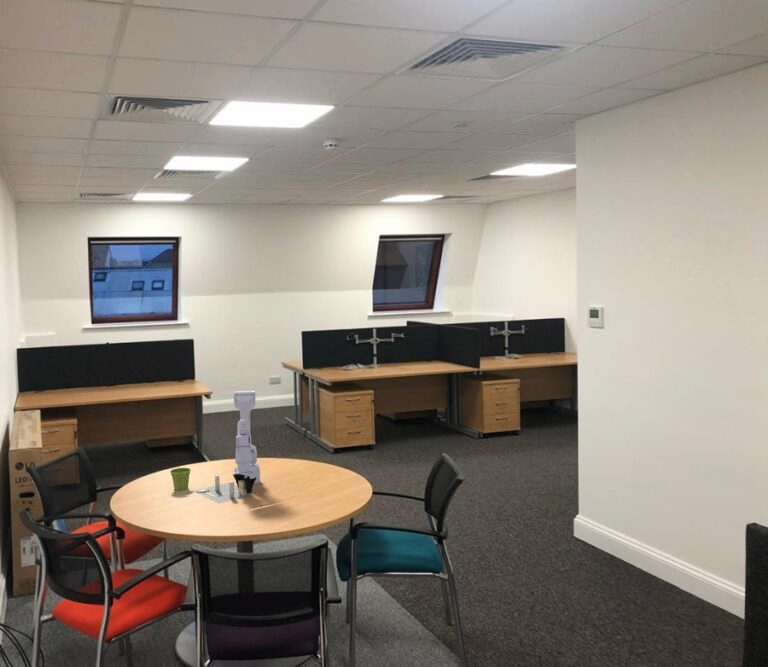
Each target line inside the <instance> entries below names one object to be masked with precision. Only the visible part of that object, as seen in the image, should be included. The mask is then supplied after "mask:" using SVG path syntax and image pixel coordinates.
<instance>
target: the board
mask: <svg viewBox="0 0 768 667" xmlns="http://www.w3.org/2000/svg"><path fill="white" fill-rule="evenodd" d="M220 483H221V482H220V475H218V474H216V475H215V476H214V485H213V486H209V487H207V488H208V489H210V491H209V492H206V493H198V494H199V495H201V496H203V497H205V498H208V499H209V500H211V501H212V502H213V501H214V502H215V503H217V504H221V503H225V502H230V501H234V500H238V499H239V500H240V499H243V498H247V497H252V496H256V494H255V493H253V492H252V493H251V494H250V495H245V496H242V495H240V494H239V490H238V487H237V485H235V482H234V481H229V482H228V483H221V484H220ZM196 490H197V489H194V490H193V492H195V493H197V492H196Z"/></svg>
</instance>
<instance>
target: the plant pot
mask: <svg viewBox="0 0 768 667" xmlns="http://www.w3.org/2000/svg"><path fill="white" fill-rule="evenodd" d="M191 471H192V469H191V468H189V467H177V468H173V469H170V471H169V473H170V475H171V477H172V483H173V488H174V490H175V491H178V490H179V491H184V490H187V489H188V488H189V482H190V474H191Z"/></svg>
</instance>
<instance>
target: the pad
mask: <svg viewBox="0 0 768 667" xmlns="http://www.w3.org/2000/svg"><path fill="white" fill-rule="evenodd" d="M195 490H196V492H195V493H197V494H199V493H206V492H209V491H210V489H208V487H205V488H203V487H202V488H198V489H195Z"/></svg>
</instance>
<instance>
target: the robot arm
mask: <svg viewBox="0 0 768 667" xmlns="http://www.w3.org/2000/svg"><path fill="white" fill-rule="evenodd" d="M233 404H234V407H235V409H238V410H239V418H240V419H239V420H238V422H237V432H236V436H235V446H236V448H235V454H234V455H235V457H234V459H235V464H236V465H237V467H234V473H233V474H232V476H233V478H234V480H235V484H236V486H237V487H238V490H239V484H238V481H240V480H244V482H245V486H246V492H247V494H248V493H253V492H252V491H253V488H254V484H257V483H261V469H260V465H259V463H258V453H257V447H256V446H255V445H253V444H252V435H251V411H252V409H254V408H255V407H256V391H255V390H241V391H240V390H238V391H237V390H235V391H234V392H233Z"/></svg>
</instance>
